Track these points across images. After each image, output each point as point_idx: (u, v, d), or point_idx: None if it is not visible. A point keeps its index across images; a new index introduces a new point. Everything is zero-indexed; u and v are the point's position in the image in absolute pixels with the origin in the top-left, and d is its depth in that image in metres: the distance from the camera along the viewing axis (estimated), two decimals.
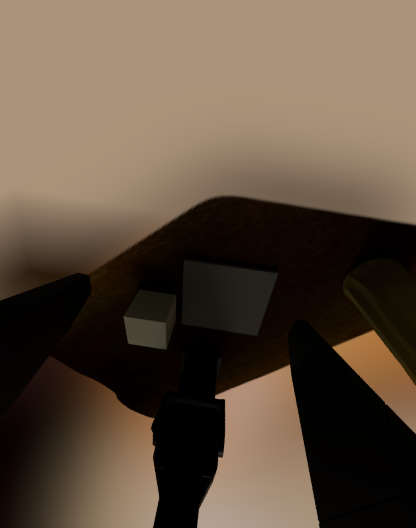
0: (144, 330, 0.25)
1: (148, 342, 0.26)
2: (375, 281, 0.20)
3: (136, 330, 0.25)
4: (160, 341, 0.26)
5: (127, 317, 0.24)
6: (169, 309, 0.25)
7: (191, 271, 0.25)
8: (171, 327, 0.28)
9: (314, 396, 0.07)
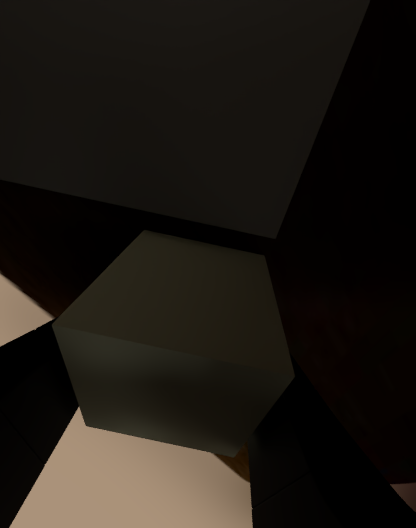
0: (143, 404, 0.06)
1: (227, 418, 0.05)
2: None
3: (152, 423, 0.06)
4: (218, 380, 0.05)
5: (87, 419, 0.07)
6: None
7: (5, 151, 0.07)
8: (232, 286, 0.06)
9: None
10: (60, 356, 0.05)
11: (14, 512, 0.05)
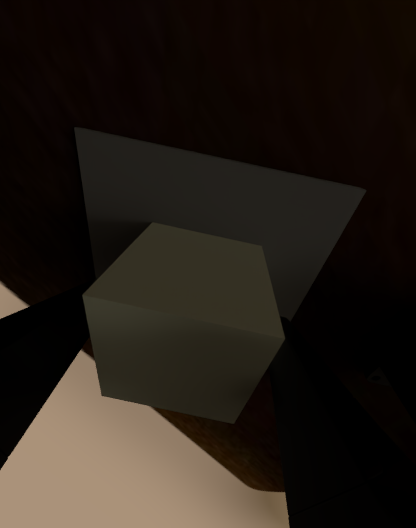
0: (155, 370, 0.06)
1: (228, 382, 0.06)
2: None
3: (162, 390, 0.07)
4: (221, 344, 0.05)
5: (103, 389, 0.07)
6: None
7: None
8: (232, 270, 0.07)
9: (287, 390, 0.07)
10: (19, 347, 0.05)
11: None
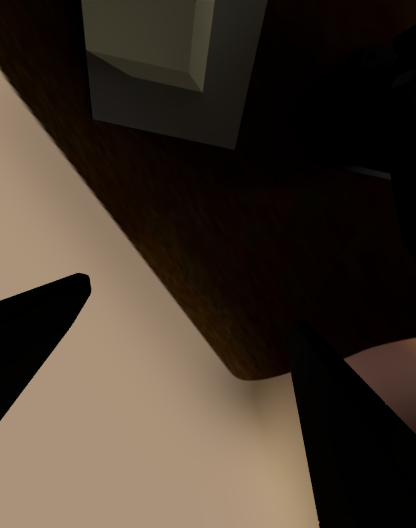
0: None
1: None
2: None
3: (131, 18, 0.09)
4: None
5: (87, 37, 0.10)
6: None
7: (110, 106, 0.15)
8: None
9: (314, 396, 0.07)
10: None
11: None
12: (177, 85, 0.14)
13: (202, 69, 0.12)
